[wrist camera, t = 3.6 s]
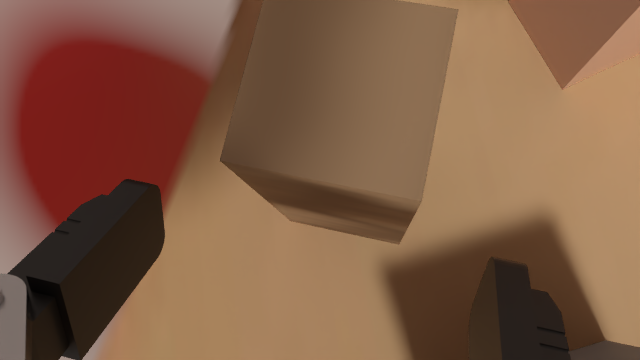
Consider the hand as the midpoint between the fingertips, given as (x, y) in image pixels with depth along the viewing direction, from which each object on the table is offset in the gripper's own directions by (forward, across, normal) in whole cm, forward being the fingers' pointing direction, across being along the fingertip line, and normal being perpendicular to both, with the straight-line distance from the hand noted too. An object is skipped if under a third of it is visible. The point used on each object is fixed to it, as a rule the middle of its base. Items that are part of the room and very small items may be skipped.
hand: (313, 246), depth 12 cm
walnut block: (+8, 0, +4) cm, 9 cm away
